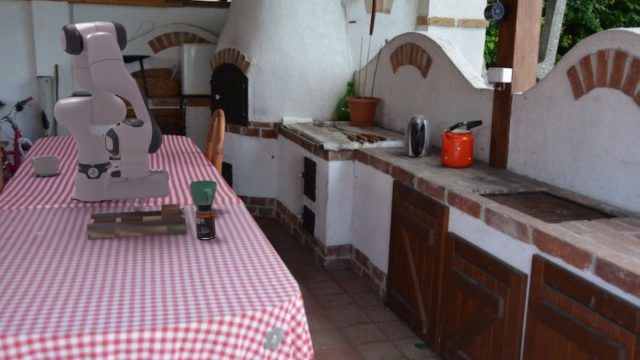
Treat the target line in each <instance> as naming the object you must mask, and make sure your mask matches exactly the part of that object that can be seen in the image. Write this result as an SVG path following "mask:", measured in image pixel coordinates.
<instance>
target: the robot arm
mask: <svg viewBox="0 0 640 360" xmlns="http://www.w3.org/2000/svg"><path fill="white" fill-rule="evenodd" d="M128 40H129V38H128V33H127V30H126V28H125V26H124V25H123V24H122V23H121V22H117V21H110V22H108V21H89V22H88V21H87V22H78V23H74V22H73V23H68V24H65V25H63V26H62V28H61V30H60V35H59V42H60V44H61V47H62V48H63V51H64V52H65V53H67V54H69V55H72V69H73V70H72V72H73V74H72V75H73V82H74V84H75V86H76V87H77V88H79V89H80V90H82V91H84V92H87V93H89V94H90V95H91V96H73V97H72V96H71V97H66V98H61V99H58V100H57V102H56V103H55V105H54V108H53V116H54V119H55V121H56V123H58V124H59V125H60V126H61V127H64V128H65V129H66V130H68V132H69V133H70V134H71V135H72V137H73V138H74V141H75V143H76V148H77V153H78V154H77V156H78V162H77V172H78V174H77V175H75V177H74V193H72V194H71V195H70V199H71V198H72V200H77V199H78V201H82V202H101V201H102V200H103V201H115V200H117V201H118V200H128V203H129V205H130V206H131V207H132V212H142V211H143V206H144V204H145V203H146V199H160V198H161V199H162V198H168V197H169V194H170V193H169V192H170V191H169V184H168V182H169V181H170V174H169V172H168V171H167V170H165V169H163V168H160V169H158V168H157V169H156V168H155V169H154V168H153V169H151V168H150V167H151V166H150V157H149V155H154V154H156V153H157V152H158V151H159V150H160V148H161V147H162V145H163V139H164V138H163V134H162V131H161V129H160V127H159V126H158V124H157V123H156V120H155V118H154V116H153V113H152V110H151V108H150V106H149V103H148V101H147V98H146V96H145V94H144V91H143V88H142V86H141V85H140V83H139V81H138V80H137V79H135V78H133V77H132V75H131V74H130V73H129V71H128V70H127V68H126V65H125V62H124V57H123V54H122V51H125V49H126V47H127V45H128ZM116 95H117V96H116ZM120 97H122V98H123V99H125V100H127V101H128V102H129V103H130V104H131V106H132V108H133V111H134V113H135V116H136V118H132V117H129V118H126V117H127V107H126V104H125V102H124V101H123V100H122V99H121V98H120ZM116 124H119V125H117V126H114V127H110V128H109V129H108V130H107V131H106V133H105V135H104V136H102V135H99V134H97V133H94V132H93V131H91V130H90V128H91V127H98V126H100V127H101V126H112V125H116ZM110 154H111V156H121V164H120V165H117V166H114V167H112V164H111V160H109V156H110ZM138 199H139V200H140V202H141V203H140V204H138V205H136V204H135V203H134V200H138Z"/></svg>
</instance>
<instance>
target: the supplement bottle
mask: <svg viewBox="0 0 640 360" xmlns="http://www.w3.org/2000/svg"><path fill="white" fill-rule="evenodd" d="M198 205H199V206H198V207H199V209H198V210H197V209H196V211H195V227H196V228H195V229H196V232H195V233H196V239H199V238H211V237H214V236H215V237H216V216H215V215H216V213H215V212H216V211H215V210H214V209H213V208H212V207H211V202H200V203H199V204H198ZM215 237H214V238H215Z"/></svg>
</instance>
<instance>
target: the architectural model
mask: <svg viewBox="0 0 640 360" xmlns="http://www.w3.org/2000/svg"><path fill="white" fill-rule="evenodd" d="M109 160H110V161H112V164H111V167H114V166H117V165H120V164H121V156H114V155H109Z"/></svg>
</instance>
